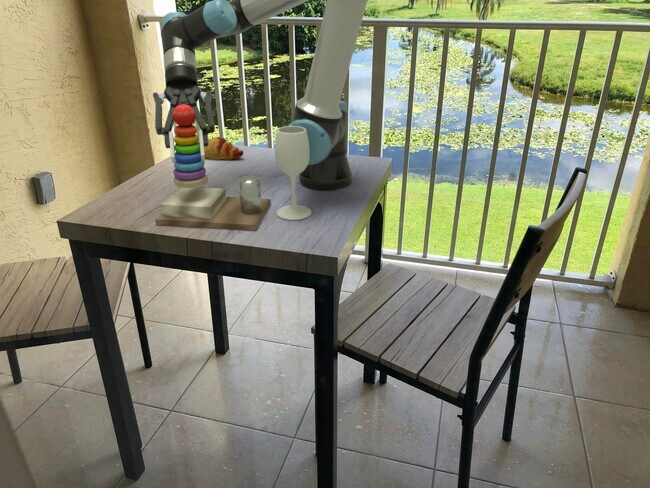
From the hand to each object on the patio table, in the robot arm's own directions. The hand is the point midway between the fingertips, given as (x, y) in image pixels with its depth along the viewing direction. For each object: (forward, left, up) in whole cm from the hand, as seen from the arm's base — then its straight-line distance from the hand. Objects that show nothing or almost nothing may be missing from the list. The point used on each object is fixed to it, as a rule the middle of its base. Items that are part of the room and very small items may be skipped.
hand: (188, 158), depth 117 cm
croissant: (+10, -50, -16) cm, 53 cm away
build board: (-4, -3, -15) cm, 16 cm away
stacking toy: (+1, -3, -8) cm, 8 cm away
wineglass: (-23, -6, -15) cm, 28 cm away
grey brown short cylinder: (-13, -3, -14) cm, 19 cm away
